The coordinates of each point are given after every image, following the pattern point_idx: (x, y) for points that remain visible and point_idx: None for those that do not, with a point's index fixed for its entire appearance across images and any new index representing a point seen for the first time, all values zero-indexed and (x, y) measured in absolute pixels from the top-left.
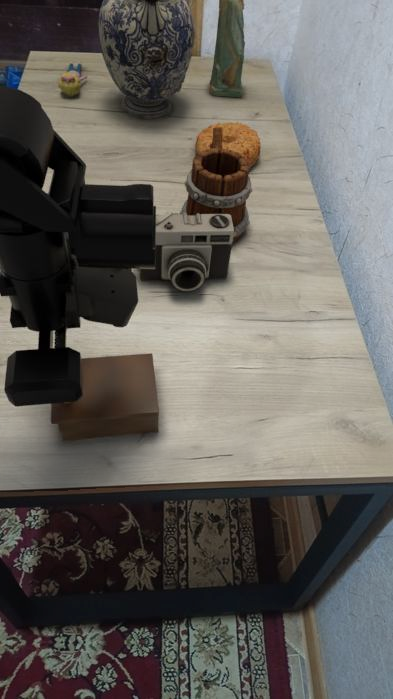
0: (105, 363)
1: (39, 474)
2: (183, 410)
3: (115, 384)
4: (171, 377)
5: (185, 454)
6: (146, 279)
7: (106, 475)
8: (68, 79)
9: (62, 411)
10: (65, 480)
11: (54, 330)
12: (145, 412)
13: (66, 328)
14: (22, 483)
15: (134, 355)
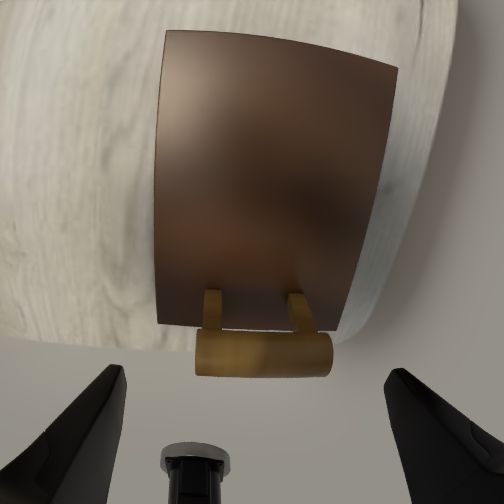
0: (182, 189)
1: (360, 304)
2: (307, 2)
3: (273, 168)
4: (201, 5)
5: (409, 41)
6: None
7: (405, 200)
8: None
9: (319, 309)
10: (386, 267)
11: (124, 402)
12: (392, 103)
13: (115, 381)
14: (363, 324)
15: (164, 89)
